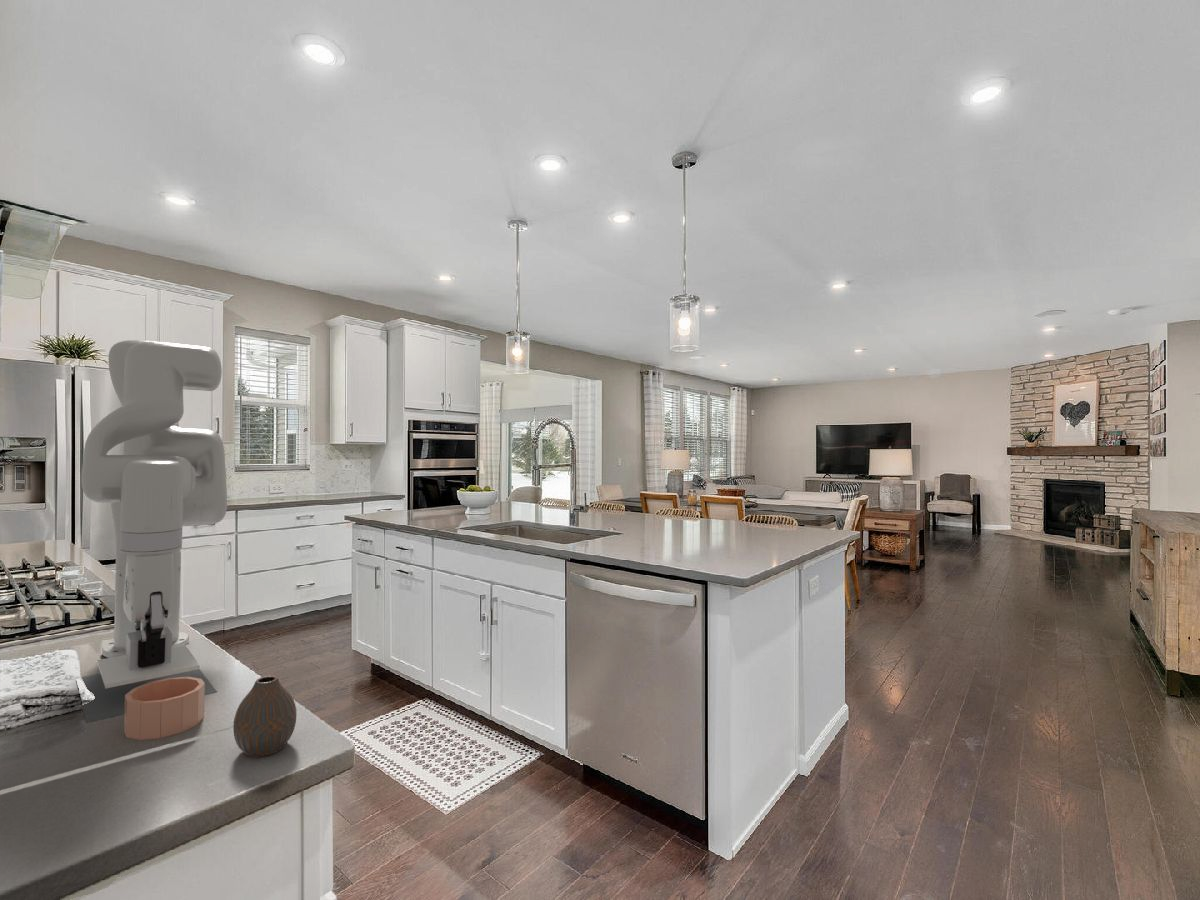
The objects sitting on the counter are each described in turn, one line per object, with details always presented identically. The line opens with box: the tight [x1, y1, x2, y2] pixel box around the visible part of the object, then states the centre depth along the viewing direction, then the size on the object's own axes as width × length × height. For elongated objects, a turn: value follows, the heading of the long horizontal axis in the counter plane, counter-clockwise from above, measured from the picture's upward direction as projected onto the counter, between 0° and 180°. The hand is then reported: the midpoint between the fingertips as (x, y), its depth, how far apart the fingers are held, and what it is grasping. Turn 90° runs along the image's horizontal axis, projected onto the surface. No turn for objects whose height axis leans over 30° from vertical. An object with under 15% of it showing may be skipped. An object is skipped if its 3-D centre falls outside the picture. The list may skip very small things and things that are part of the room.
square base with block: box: [97, 627, 201, 688], centre depth 89 cm, size 11×11×5 cm
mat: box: [81, 669, 218, 724], centre depth 91 cm, size 20×15×1 cm
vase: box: [232, 675, 297, 758], centre depth 74 cm, size 7×7×9 cm
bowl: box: [123, 677, 206, 741], centre depth 79 cm, size 8×8×5 cm
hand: (148, 659), depth 89 cm, fingers closed on square base with block, 4 cm apart
